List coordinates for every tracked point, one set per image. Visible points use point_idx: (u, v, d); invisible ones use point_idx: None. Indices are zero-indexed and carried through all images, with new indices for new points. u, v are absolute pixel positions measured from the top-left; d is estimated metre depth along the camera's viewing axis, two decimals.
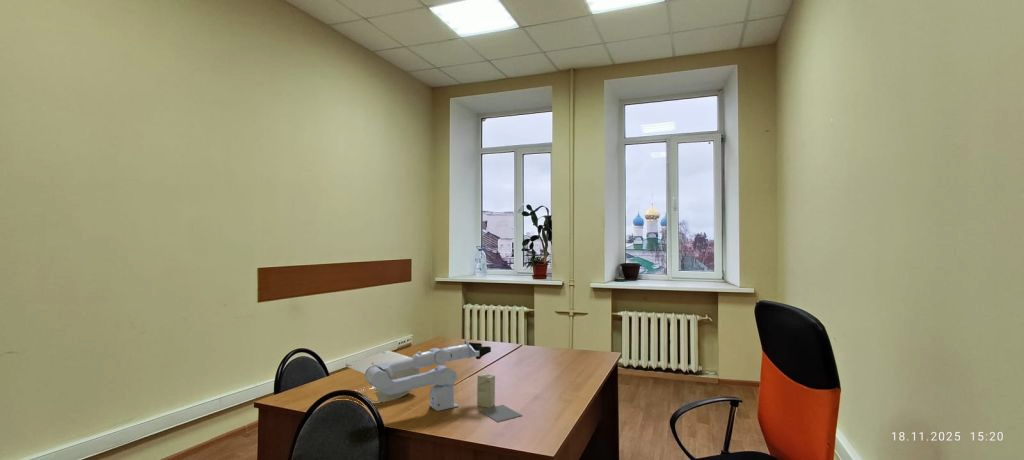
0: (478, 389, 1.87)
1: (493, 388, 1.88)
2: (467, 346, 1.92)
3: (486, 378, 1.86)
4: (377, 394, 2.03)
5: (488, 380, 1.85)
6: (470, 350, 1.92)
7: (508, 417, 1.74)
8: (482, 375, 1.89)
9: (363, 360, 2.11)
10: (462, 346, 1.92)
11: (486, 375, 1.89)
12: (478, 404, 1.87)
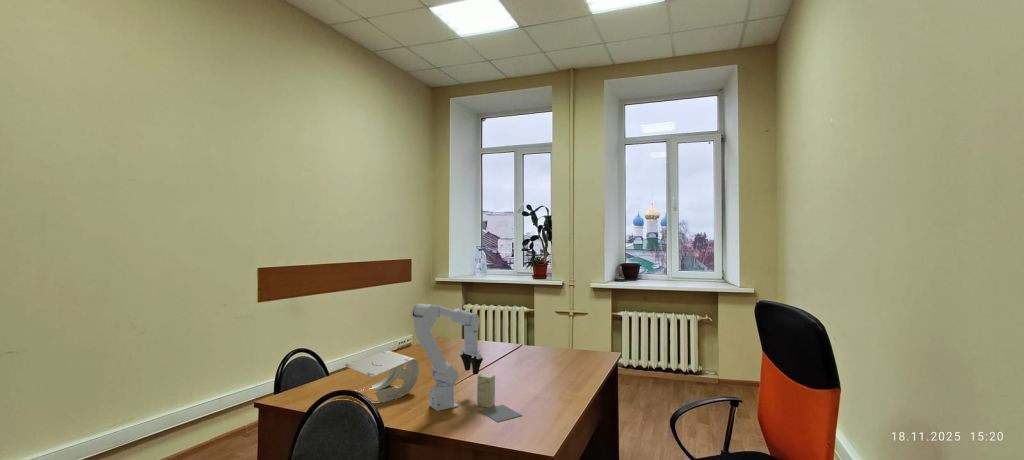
0: (478, 389, 1.87)
1: (493, 388, 1.88)
2: (477, 349, 2.00)
3: (486, 378, 1.86)
4: (377, 394, 2.03)
5: (488, 380, 1.85)
6: (476, 352, 1.98)
7: (508, 417, 1.74)
8: (482, 375, 1.89)
9: (363, 360, 2.11)
10: (477, 344, 2.00)
11: (486, 375, 1.89)
12: (478, 404, 1.87)
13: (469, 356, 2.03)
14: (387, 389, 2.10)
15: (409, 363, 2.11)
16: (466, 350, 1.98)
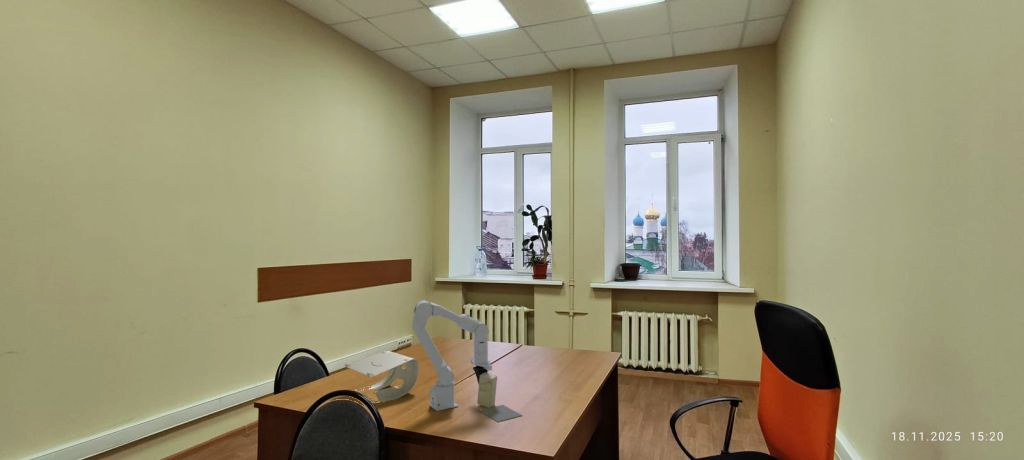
0: (479, 388, 1.87)
1: (494, 388, 1.87)
2: (487, 360, 1.92)
3: (488, 379, 1.85)
4: (376, 394, 2.02)
5: (490, 381, 1.84)
6: (486, 363, 1.90)
7: (508, 417, 1.74)
8: (484, 375, 1.87)
9: (362, 360, 2.11)
10: (487, 355, 1.93)
11: (488, 375, 1.87)
12: (478, 403, 1.87)
13: None
14: (387, 389, 2.09)
15: (409, 363, 2.11)
16: (476, 361, 1.90)
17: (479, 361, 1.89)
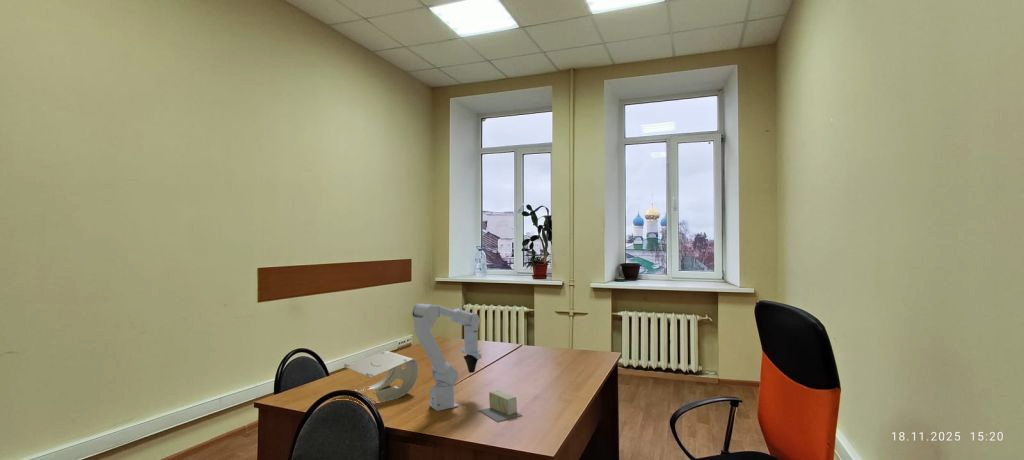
0: (499, 397, 1.80)
1: None
2: (477, 349, 2.00)
3: (507, 410, 1.76)
4: (376, 394, 2.02)
5: (506, 413, 1.77)
6: (476, 352, 1.98)
7: (508, 417, 1.74)
8: (511, 402, 1.77)
9: (362, 360, 2.10)
10: (477, 344, 2.00)
11: (512, 406, 1.77)
12: (490, 394, 1.85)
13: None
14: (386, 389, 2.09)
15: (408, 363, 2.11)
16: (466, 350, 1.98)
17: (469, 350, 1.97)
